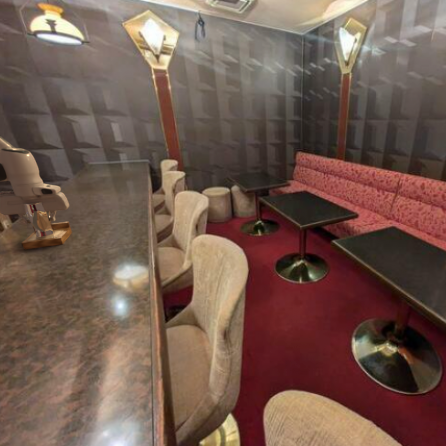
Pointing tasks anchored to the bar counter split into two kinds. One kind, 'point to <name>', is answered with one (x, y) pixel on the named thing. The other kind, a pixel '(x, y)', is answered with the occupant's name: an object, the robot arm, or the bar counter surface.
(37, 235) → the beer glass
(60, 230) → the shallow wooden tray
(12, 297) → the bar counter surface
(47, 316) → the bar counter surface
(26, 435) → the bar counter surface
